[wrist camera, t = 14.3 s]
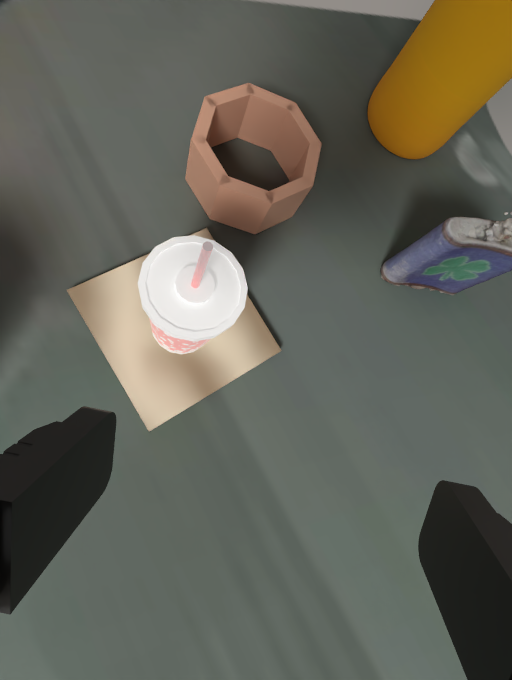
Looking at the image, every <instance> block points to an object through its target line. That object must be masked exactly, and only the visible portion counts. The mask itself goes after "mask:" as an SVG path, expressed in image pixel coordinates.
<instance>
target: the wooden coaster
mask: <svg viewBox="0 0 512 680" xmlns="http://www.w3.org/2000/svg"><path fill="white" fill-rule="evenodd" d="M192 235H195V236H199V237H202V238H206V239H210V240H214V239H213V238H212V236H211V234H210V233H209V231H208V229H207V228H206V229H203V230H201V231H199V232H197V233H194V234H192ZM192 235H190V236H192ZM149 254H150V253H149ZM149 254H147V255H145V256H143V257H140V258H138V259H136V260H134V261H131V262H129V263H127V264H124V265H122V266H120V267H118V268H115V269H113V270H111V271H109V272H106V273H104V274H102V275H100V276H97V277H95V278H93V279H91V280H88V281H86V282H84V283H82V284H79V285H77V286H75V287H73V288H70V289H68V290H67V292H68V293H69V295H70V297H71V298H72V300H73V302H74V304H75V305H76V307H77V309H78V310H79V312H80V314H81V316H82V317H83V319H84V321H85V322H86V324H87V326H88V328H89V329H90V331H91V333H92V334H93V336H94V338H95V340H96V341H97V343H98V345H99V346H100V348H101V350H102V352H103V353H104V355H105V357H106V358H107V360H108V362H109V364H110V365H111V367H112V369H113V370H114V372H115V374H116V376H117V377H118V379H119V381H120V382H121V384H122V386H123V388H124V389H125V391H126V393H127V394H128V396H129V398H130V400H131V401H132V403H133V405H134V407H135V408H136V410H137V412H138V413H139V415H140V417H141V419H142V420H143V422H144V424H145V425H146V427H147V429H148V431H151V430H152V429H154V428H156V427H157V426H159V425H161V424H162V423H164V422H165V421H167V420H169V419H170V418H172V417H174V416H175V415H177V414H179V413H180V412H182V411H184V410H185V409H187V408H188V407H190V406H192V405H193V404H195V403H197V402H198V401H200V400H202V399H203V398H205V397H206V396H208V395H210V394H211V393H213V392H215V391H216V390H218V389H220V388H221V387H223V386H224V385H226V384H228V383H229V382H231V381H233V380H234V379H236V378H238V377H239V376H241V375H242V374H244V373H246V372H247V371H249V370H251V369H252V368H254V367H256V366H257V365H259V364H261V363H262V362H264V361H265V360H267V359H269V358H270V357H272V356H274V355H275V354H277V353H279V352H280V351H281V349H280V348H279V346H278V344H277V343H276V341H275V339H274V338H273V336H272V334H271V333H270V331H269V329H268V328H267V326H266V325H265V323H264V321H263V320H262V318H261V316H260V315H259V313H258V311H257V310H256V308H255V307H254V305H253V303H252V302H251V300H250V298H249V297H248V295H247V296H246V302H245V308H244V309H243V311H242V312H241V314H240V315H239V317H238V319H237V320H236V322H235V323H234V325H232V326H231V327H230V328H229V329H227V330H225V331H224V332H222V333H221V334H219V335H218V336H216V337H215V338H211V339H210V340H209V341H208V342H207V343H206V344H204V345H203V346H202V347H200V348H199V349H197V350H196V351H194V352H191V353H186V354H177V353H172V352H169V351H168V350H166V349H164V348H163V347H161V346H160V345H159V344H158V342H157V341H156V339H155V338H154V336H153V333H152V328H151V324H150V319H149V317H148V315H147V314H146V312H145V311H144V309H143V308H142V303H141V298H140V293H139V288H138V280H139V275H140V271H141V267H142V263H143V262H144V260H145V259H146V258H147V257H148V255H149Z"/></svg>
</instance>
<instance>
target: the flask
mask: <svg viewBox="0 0 512 680" xmlns="http://www.w3.org/2000/svg"><path fill="white" fill-rule="evenodd" d="M510 213H511V215H512V211H511V212H510ZM504 214H505V215H507V214H508V212H505V213H504ZM382 266H383V267H381V269H382V270H381V275H382V279H384V280H386V281H387V282H389V283H391V284H394V285H396V286H399V285H406V286H410V287H411V288H415V289H422V288H429V289H430V290H431V291H432V290H438V291H440V292H441V293H446V294H450V295H454V294H456V293H458V292H460V291H462V290H464V289H467V288H469V287H472V286H474V285H476V284H479V283H482V282H484V281H487V280H489V279H491V278H494V277H496V276H499V275H501V274H504V273H506V272H509V271H511V270H512V218H508V219H507V220H505V221H493V220H486V219H480V218H469V217H452V218H448V219H447V220H445V221H444V222H443V223H441V224H440V225H439V226H437V227H436V228H434V229H433V230H431V231H430V232H429V233H427V234H426V235H424V236H423V237H421V238H420V239H418V240H417V241H415V242H414V243H413V244H411V245H410V246H409V247H407V248H406V249H404V250H402V251H401V252H399V253H398V254H396V255H395V256H393V257H392V258H390V259H389V260H387V261H386V262H385V263H384V264H383V265H382Z"/></svg>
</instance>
